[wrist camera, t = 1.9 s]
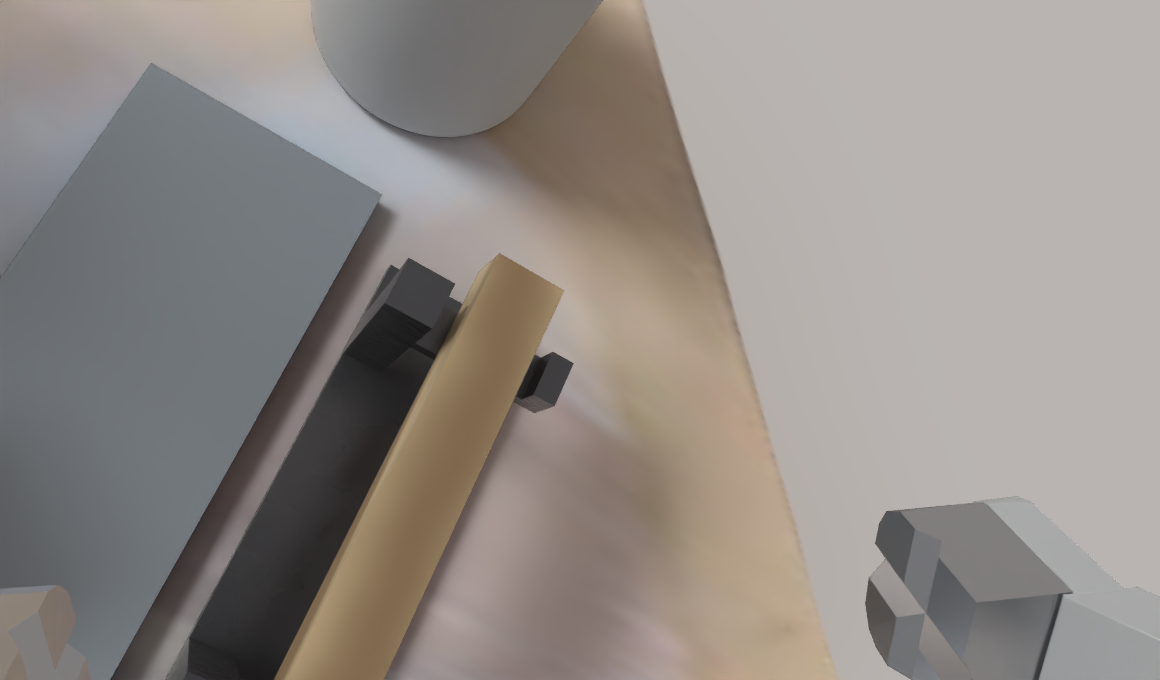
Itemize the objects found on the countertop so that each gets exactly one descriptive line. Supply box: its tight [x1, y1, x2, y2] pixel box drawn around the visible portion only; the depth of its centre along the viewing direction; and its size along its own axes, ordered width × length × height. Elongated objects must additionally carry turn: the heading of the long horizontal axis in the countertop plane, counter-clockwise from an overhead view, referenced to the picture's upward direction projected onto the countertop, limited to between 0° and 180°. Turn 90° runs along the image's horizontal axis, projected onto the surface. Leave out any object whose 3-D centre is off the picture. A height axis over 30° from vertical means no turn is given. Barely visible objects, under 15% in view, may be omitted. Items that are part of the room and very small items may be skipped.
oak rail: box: [274, 253, 564, 680], centre depth 35 cm, size 3×22×3 cm, turn 156°
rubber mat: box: [0, 63, 382, 680], centre depth 42 cm, size 12×28×1 cm, turn 156°
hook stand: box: [165, 258, 573, 680], centre depth 39 cm, size 8×24×12 cm, turn 156°
